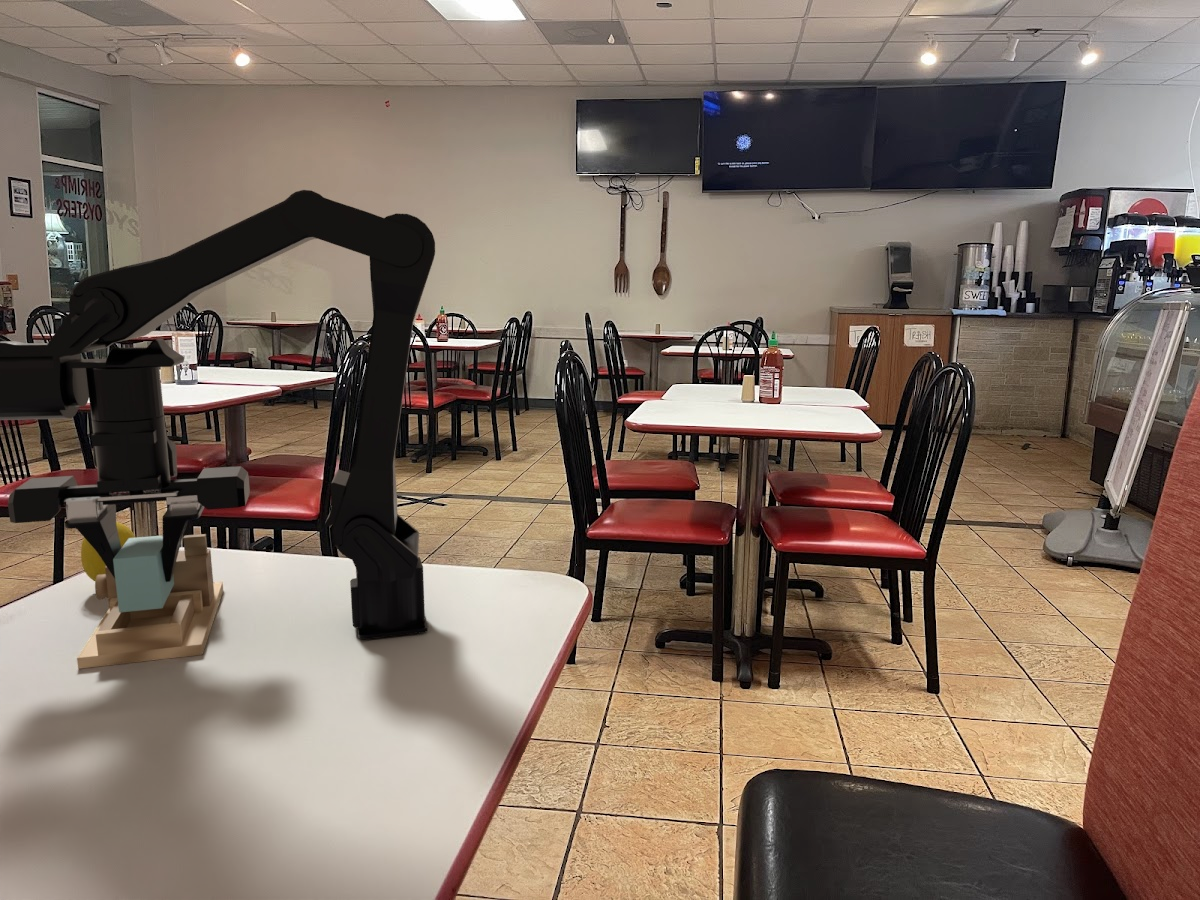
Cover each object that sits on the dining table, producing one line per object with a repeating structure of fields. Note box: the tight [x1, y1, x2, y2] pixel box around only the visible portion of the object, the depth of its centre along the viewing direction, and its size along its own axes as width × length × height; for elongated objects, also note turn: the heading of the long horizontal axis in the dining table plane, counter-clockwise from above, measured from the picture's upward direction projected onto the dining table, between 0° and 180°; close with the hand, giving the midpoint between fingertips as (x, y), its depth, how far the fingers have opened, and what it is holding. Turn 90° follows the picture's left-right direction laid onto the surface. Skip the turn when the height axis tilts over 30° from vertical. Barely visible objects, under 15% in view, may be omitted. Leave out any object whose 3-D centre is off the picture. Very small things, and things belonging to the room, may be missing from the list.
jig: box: [76, 581, 224, 670], centre depth 84 cm, size 10×17×3 cm, turn 18°
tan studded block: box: [94, 533, 214, 607], centre depth 86 cm, size 10×4×7 cm, turn 108°
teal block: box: [113, 534, 174, 613], centre depth 79 cm, size 4×6×5 cm, turn 18°
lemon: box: [80, 521, 136, 582], centre depth 93 cm, size 6×6×8 cm
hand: (146, 582), depth 79 cm, fingers closed on teal block, 3 cm apart
